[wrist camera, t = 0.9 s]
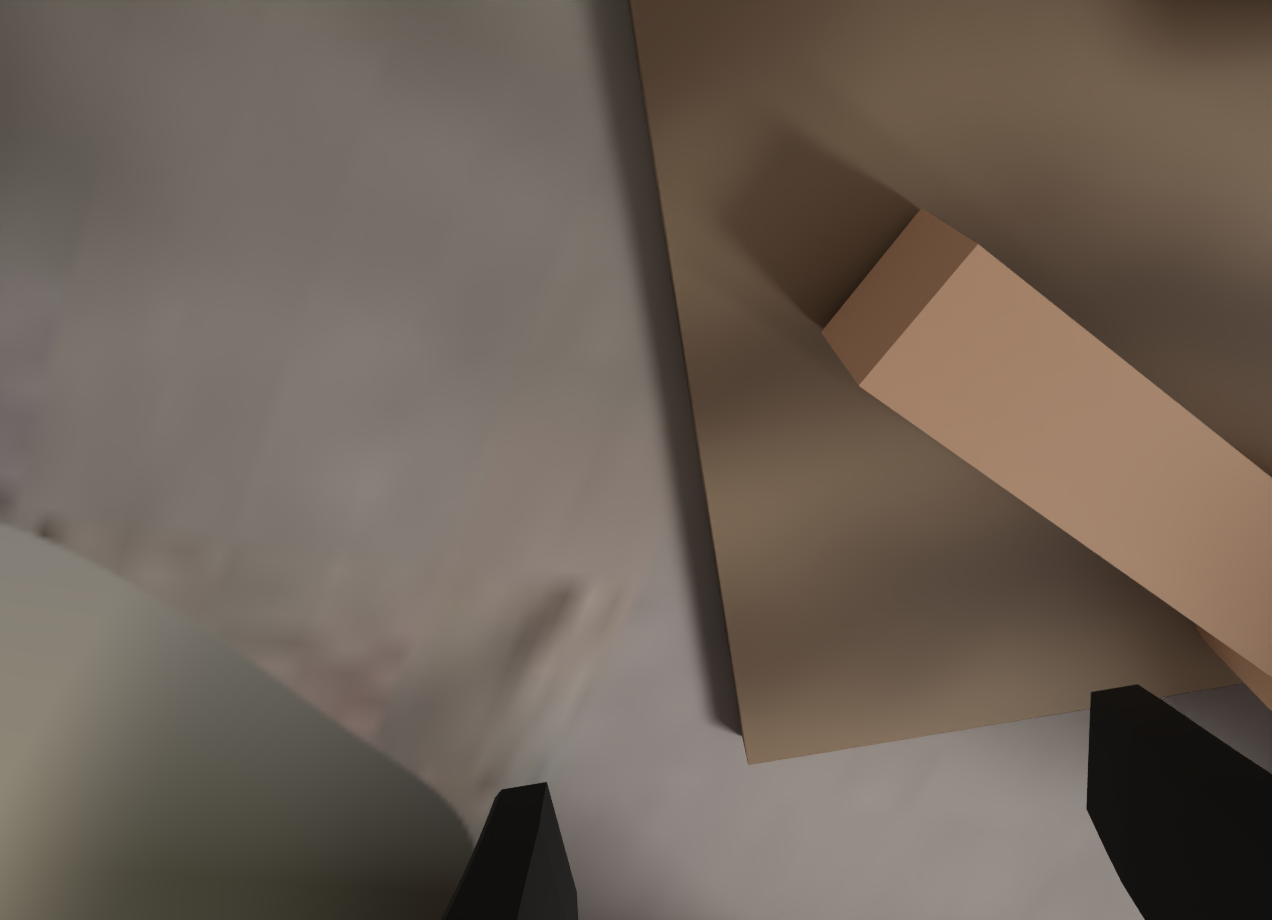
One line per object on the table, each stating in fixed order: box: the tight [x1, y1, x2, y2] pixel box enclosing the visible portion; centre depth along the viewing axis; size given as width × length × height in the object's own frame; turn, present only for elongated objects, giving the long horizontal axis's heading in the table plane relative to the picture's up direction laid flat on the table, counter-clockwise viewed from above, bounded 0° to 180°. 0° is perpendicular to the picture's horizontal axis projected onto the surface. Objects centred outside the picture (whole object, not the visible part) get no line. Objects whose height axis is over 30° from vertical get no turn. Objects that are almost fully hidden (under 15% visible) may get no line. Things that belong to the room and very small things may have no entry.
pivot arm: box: [821, 208, 1272, 711], centre depth 20 cm, size 15×4×4 cm, turn 55°
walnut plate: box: [628, 0, 1272, 765], centre depth 21 cm, size 20×17×1 cm
